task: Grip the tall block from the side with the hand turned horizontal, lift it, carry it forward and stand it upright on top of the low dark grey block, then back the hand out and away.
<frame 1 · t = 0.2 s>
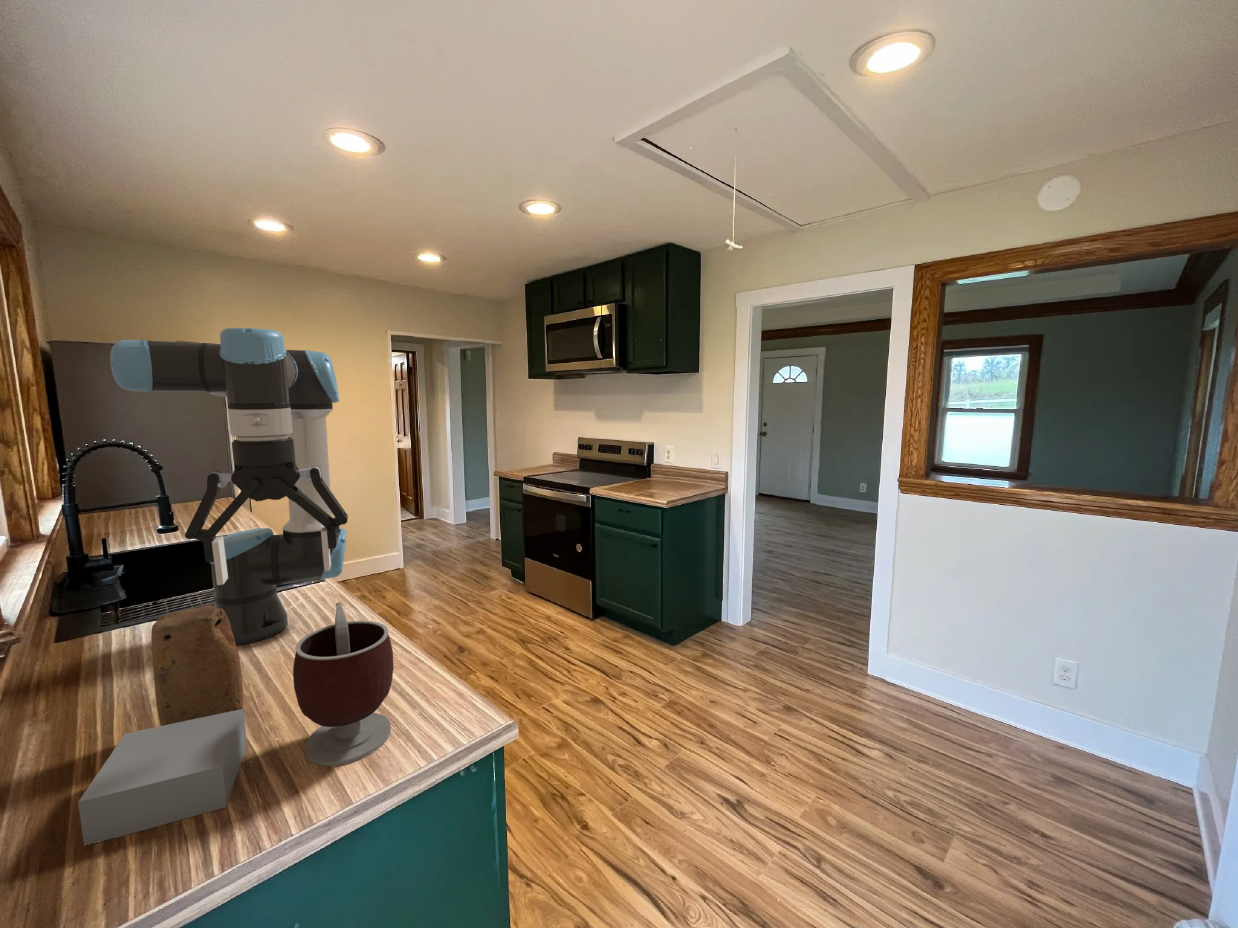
hand: (277, 574, 79), 27 cm above the counter, tool pointing down, fingers open, 13 cm apart
block: (204, 728, 85), on the counter
grey base block: (175, 788, 72), on the counter
mate gourd: (349, 737, 83), on the counter
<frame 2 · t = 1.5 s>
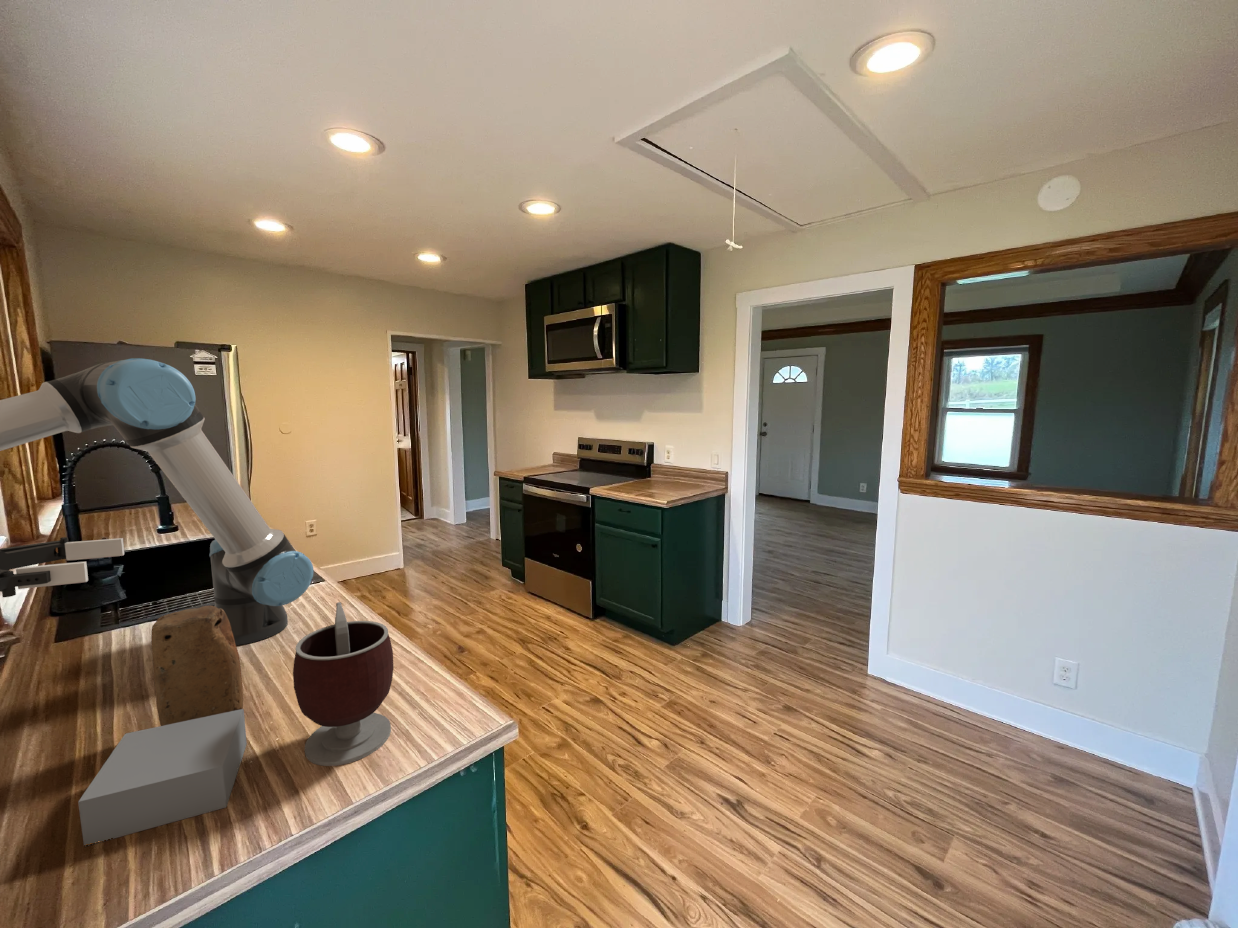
hand: (106, 558, 77), 30 cm above the counter, tool horizontal, fingers open, 13 cm apart
nothing on the counter moved.
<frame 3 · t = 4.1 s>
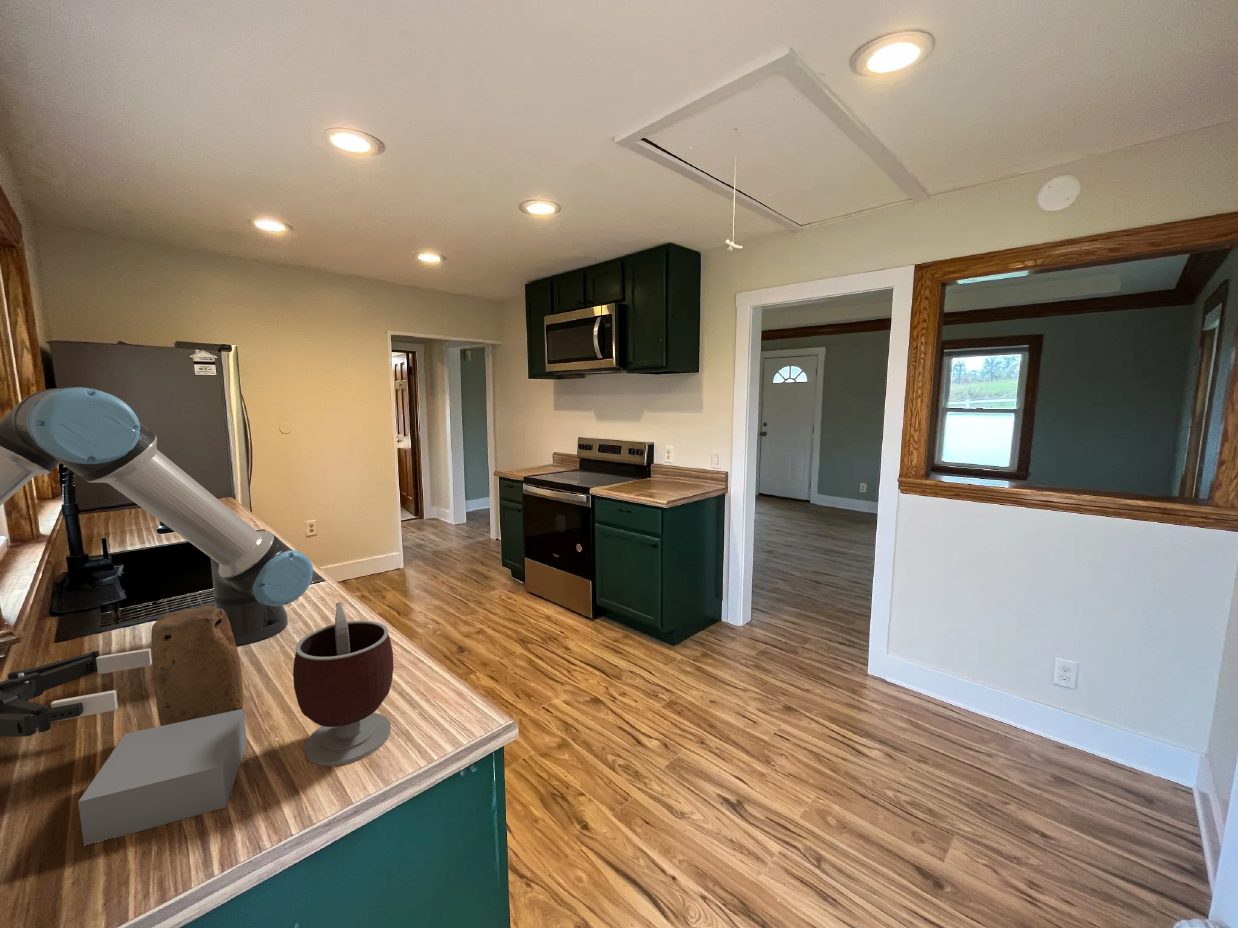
hand: (134, 676, 80), 11 cm above the counter, tool horizontal, fingers open, 13 cm apart
nothing on the counter moved.
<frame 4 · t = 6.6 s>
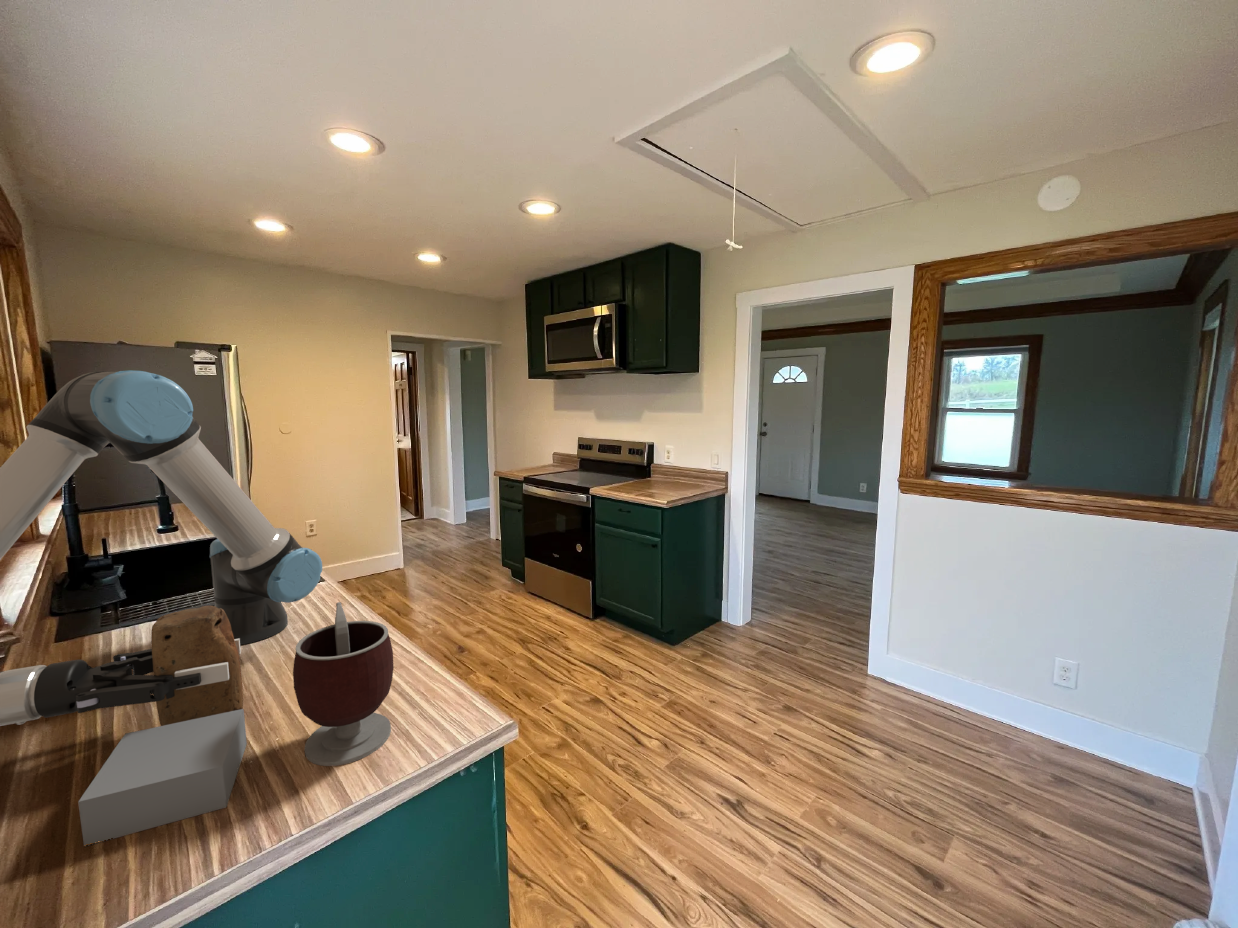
hand: (234, 658, 86), 11 cm above the counter, tool horizontal, fingers closed on block, 8 cm apart
block: (204, 728, 85), on the counter, touching gripper
everything else where it was.
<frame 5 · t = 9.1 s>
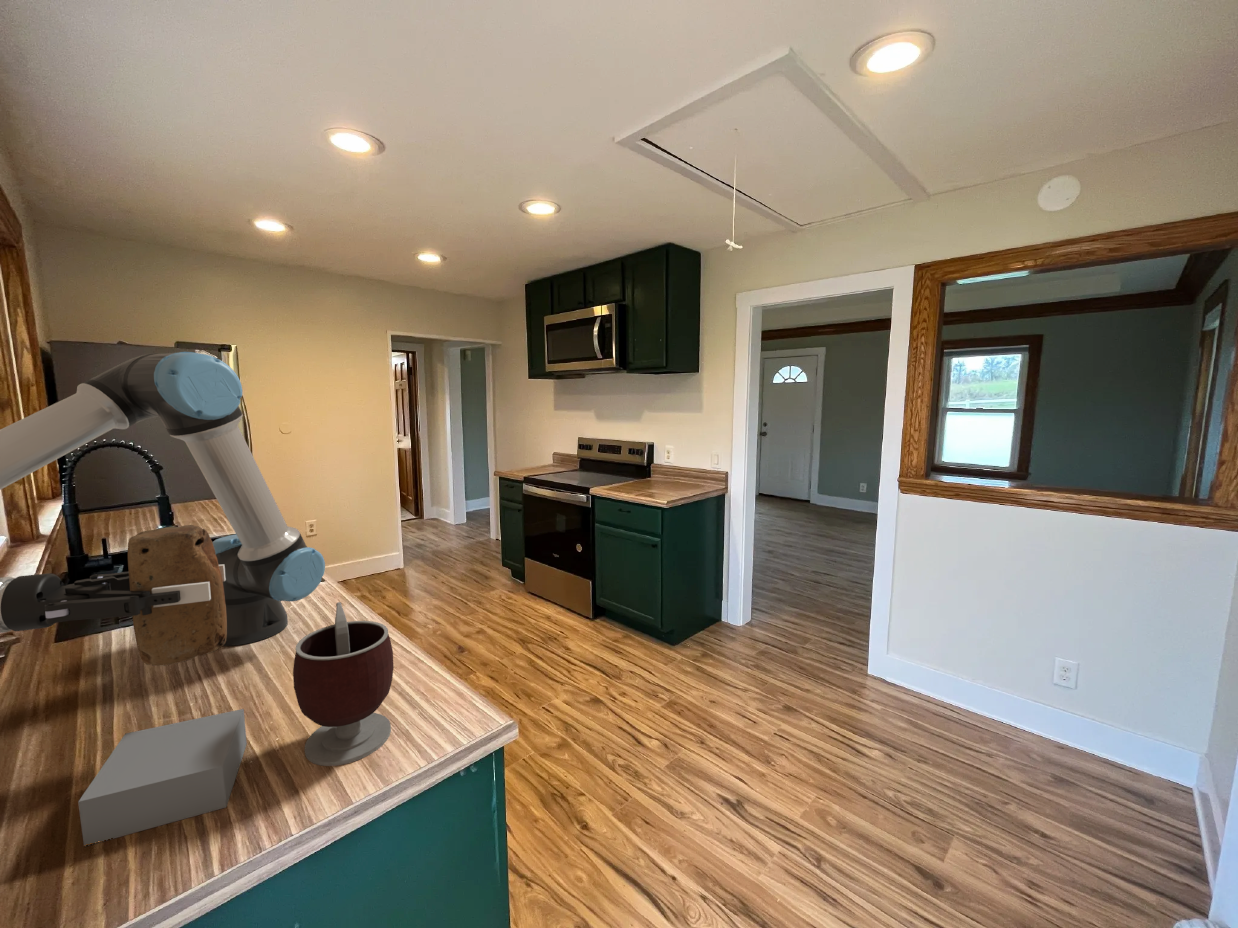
hand: (217, 581, 81), 25 cm above the counter, tool horizontal, fingers closed on block, 8 cm apart
block: (185, 654, 80), point 14 cm above the counter, touching gripper
everything else where it was.
when the fingers open (18 cm above the counter, at t = 11.8 s): block drops 1 cm, resting on grey base block.
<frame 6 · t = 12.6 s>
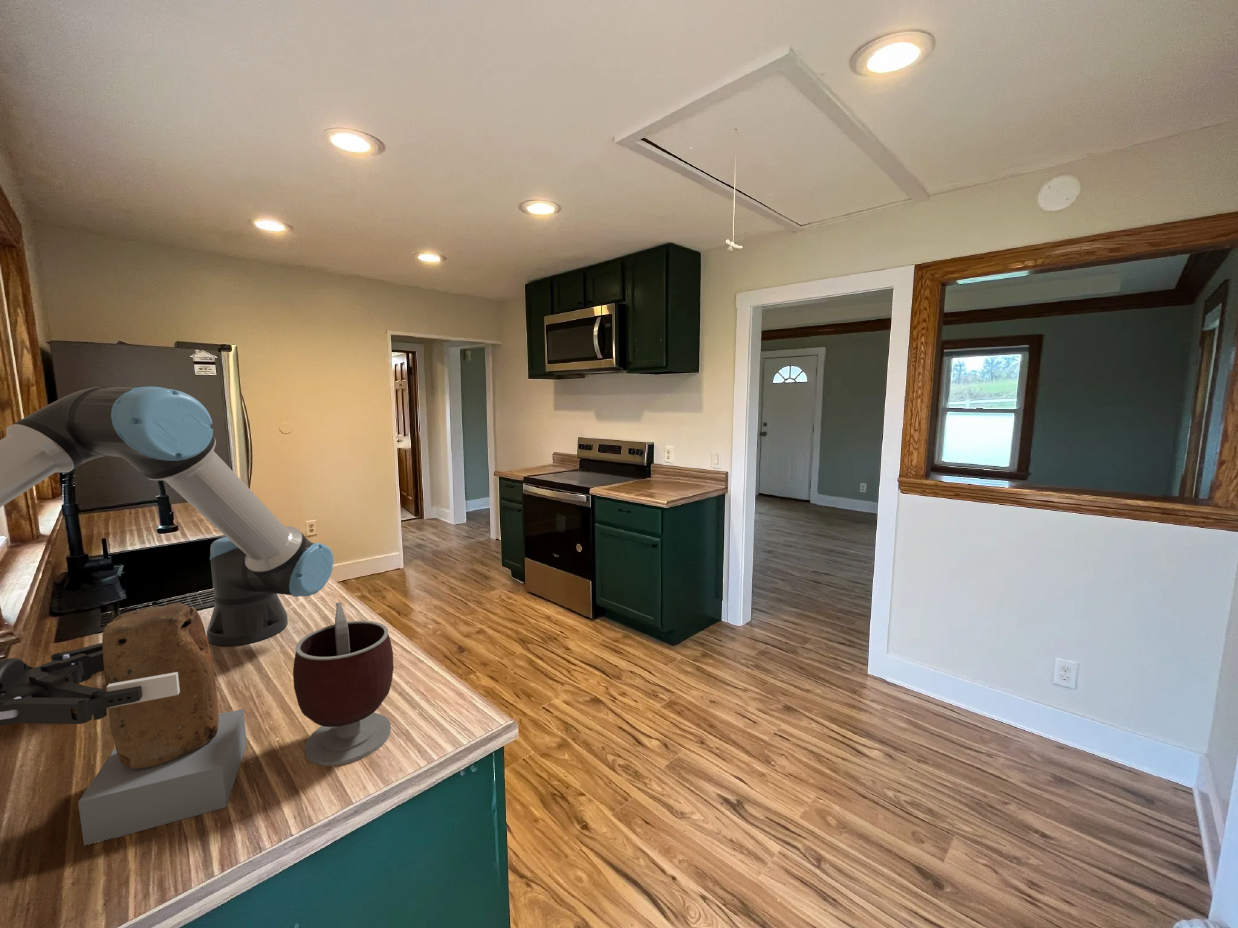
hand: (193, 658, 71), 18 cm above the counter, tool horizontal, fingers open, 13 cm apart
block: (171, 749, 71), point 6 cm above the counter, touching grey base block
everything else where it was.
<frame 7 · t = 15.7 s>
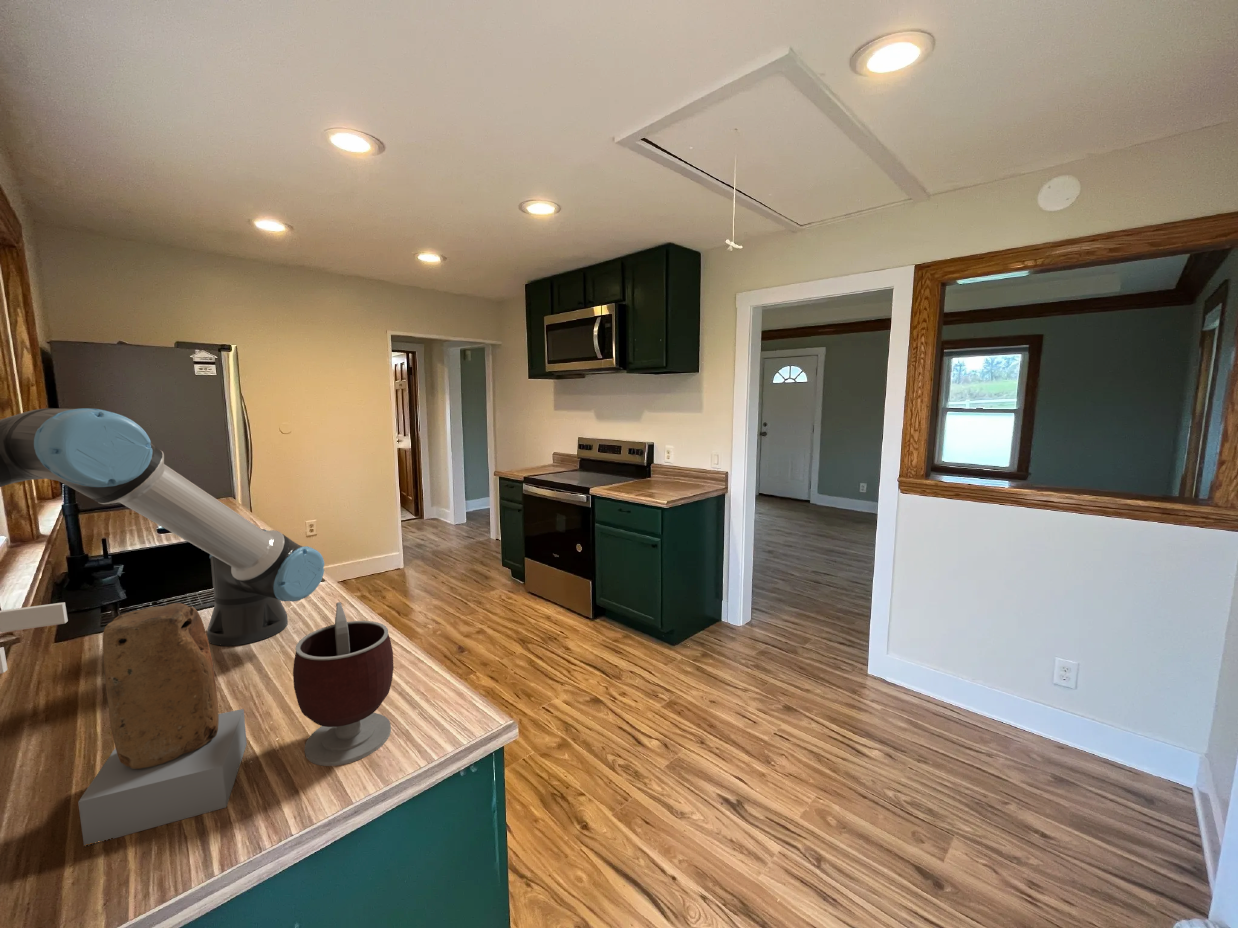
hand: (37, 633, 63), 25 cm above the counter, tool horizontal, fingers open, 13 cm apart
nothing on the counter moved.
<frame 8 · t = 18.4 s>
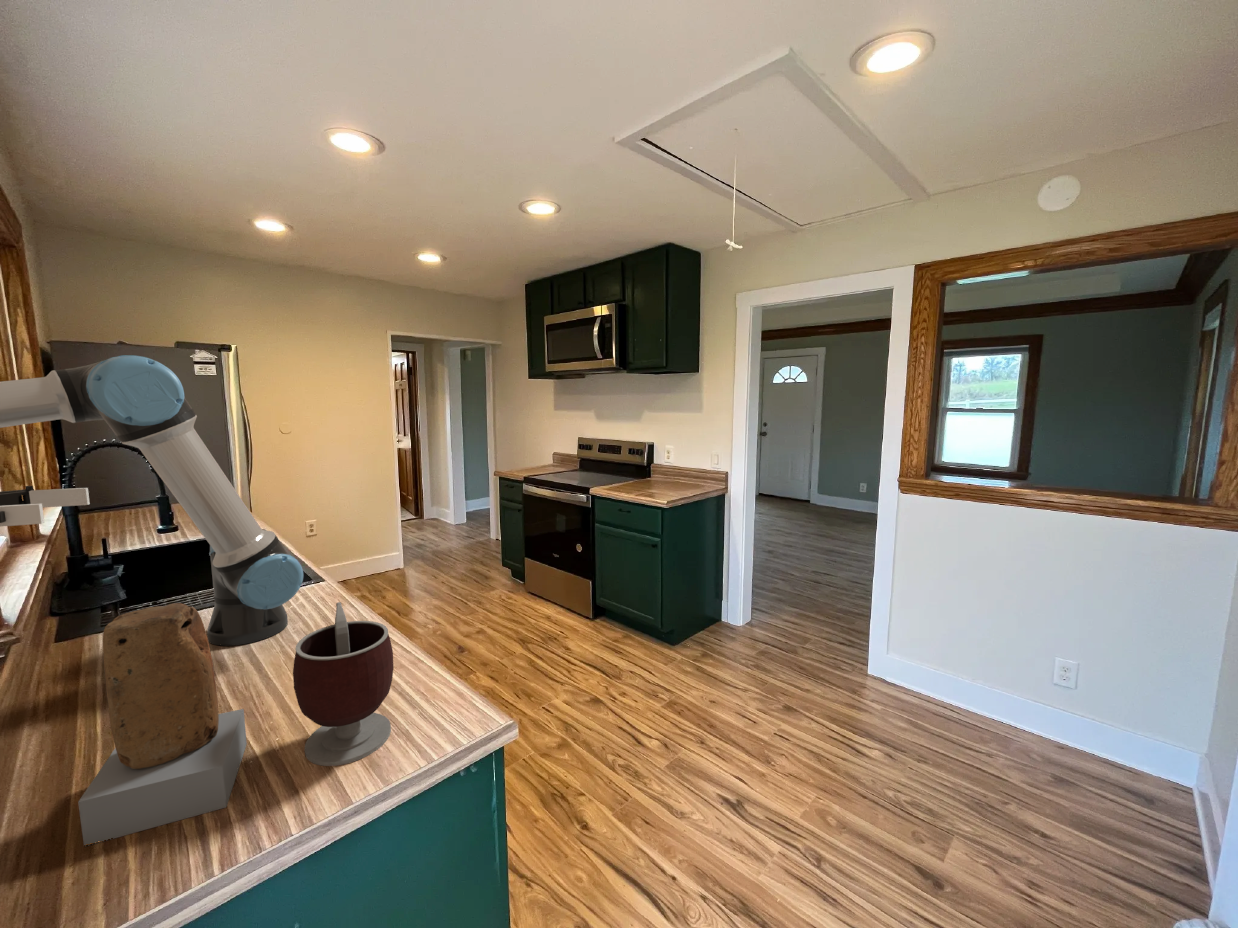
hand: (67, 504, 77), 38 cm above the counter, tool horizontal, fingers open, 13 cm apart
nothing on the counter moved.
at the end: block inside the target area on the grey base block (0.1 cm from its centre), point 5.8 cm above the grey base block's base; block tilted 0°; the gripper is holding nothing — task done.
